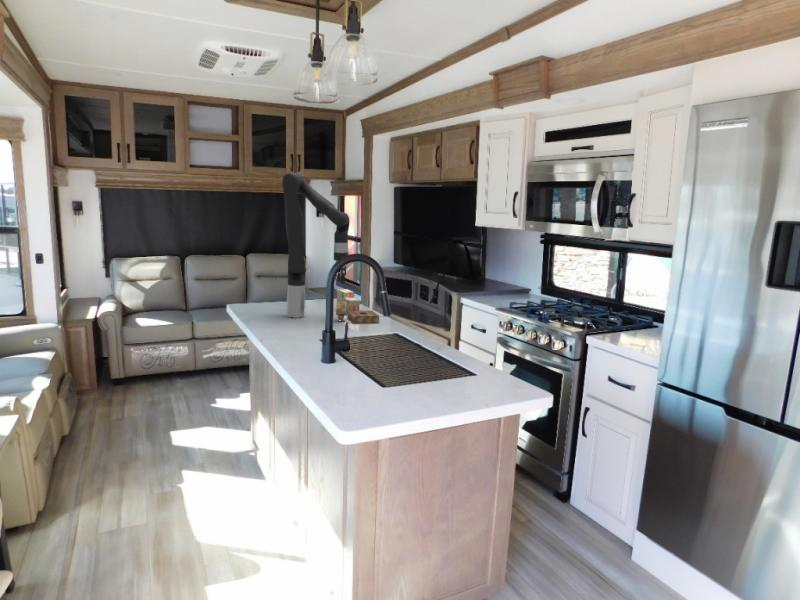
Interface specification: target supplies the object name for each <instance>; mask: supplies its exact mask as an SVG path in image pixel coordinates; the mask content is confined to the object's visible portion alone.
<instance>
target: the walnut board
mask: <svg viewBox="0 0 800 600" xmlns="http://www.w3.org/2000/svg"><path fill="white" fill-rule="evenodd" d="M346 316H347V317H346V318H347V319H348V320H349V321H350V322H351V323H352V325H353V324H354V325H356V324H359V325H360V324H364V325H365V324H380V315H379V314H378V313H376V312H375V311H374V310H359V311H348V315H346Z"/></svg>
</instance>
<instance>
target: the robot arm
mask: <svg viewBox="0 0 800 600" xmlns="http://www.w3.org/2000/svg"><path fill="white" fill-rule="evenodd" d="M281 179H282V180H281V185H282V190H283V196H284V197H283V198H284V212H285V213H284V214H285V217H284V219H285V230H286V231H285V233H286V239H287V244H288V256H287V257H288V258H287V294H286V317H287V318H291V317H293V319H299V318H300V317H301V318H304V317H305V312H306V311H305V307H306V305H305V304H306V303H305V302H306V265H307V264H306V263H307V262H306V259H305V253H304V232H305V228H304V227H305V226H304V223H305V222H304V215H303V212H302V209H301V205H300V202H299V201H300V199H299V195H301V196H303V197H305V199H307V201H309V203H311V205H312V206H313V207H315V209H317V211H319V212H320V213H322V214H323V215H324V216H325V217H326V218H328V220H329V221H330V222H331V223H332V224H334V225H335V226H336V230H335V232H334V235H333V236H334V238H333V239H334V240H333V260H334V261H335V263H336V262H337V261H339V260H340V259H341V258H343V257H346V256H348V257H349V228H350V216H349V215H348V213H346V212H345V211H344V212H343V211H340V210H339V209H337V208H336V206H335V205H334V204H333V203H332V202H331V201H330V200H328V199H327V198H326V197H324V196H323V195H322V194H321V193H319V192H318V191H317V190H316V189H314V188H313V187H312V186H311V185H310V184H309V183H308V182H307V181H306V180H305V178H303V176H301V175H300V174H299V173H297V172H286V173H285V174H284V175H283V177H282V178H281ZM346 276H347V265H346V266H344V267H343V268H342V269H341V270H340V272H339V273H338V275H337V274H336V281H337V282H339V283H340V284H341V285H342V284H343V285H344V284H345V283H346V282H345V281H346Z"/></svg>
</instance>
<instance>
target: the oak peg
mask: <svg viewBox="0 0 800 600" xmlns="http://www.w3.org/2000/svg"><path fill="white" fill-rule="evenodd" d="M335 306H336V307H335V308H336V309H335V315H336V316H337V319H338V321H339V320H341V321H340V322H344V320H345V316H347V315H346V302H342V301H339V302H337V301H336V304H335Z"/></svg>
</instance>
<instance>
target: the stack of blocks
mask: <svg viewBox="0 0 800 600" xmlns="http://www.w3.org/2000/svg"><path fill="white" fill-rule="evenodd" d="M339 301H342V302H346V315H345V316H347V315H348V311H360V309H361V308H360V306H361V305H360V304H361V300H360V299H358V298H356V297H355V292H354V291H352V290H350V289H347V288H342V289H341V288H337V289H336V302H339Z"/></svg>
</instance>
